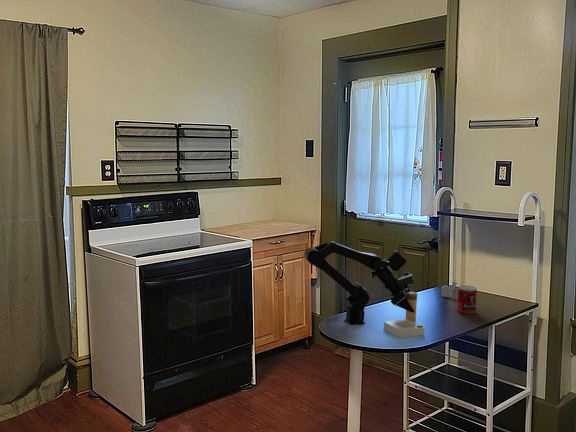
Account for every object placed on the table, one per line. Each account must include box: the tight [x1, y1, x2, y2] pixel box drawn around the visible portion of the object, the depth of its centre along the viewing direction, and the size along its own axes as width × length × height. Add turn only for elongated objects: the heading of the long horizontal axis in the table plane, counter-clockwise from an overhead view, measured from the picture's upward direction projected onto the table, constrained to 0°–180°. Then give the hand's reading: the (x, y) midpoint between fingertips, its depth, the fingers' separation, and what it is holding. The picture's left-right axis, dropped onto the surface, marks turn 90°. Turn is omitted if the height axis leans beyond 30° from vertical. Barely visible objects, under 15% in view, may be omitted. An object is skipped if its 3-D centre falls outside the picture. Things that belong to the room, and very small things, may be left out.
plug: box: [405, 291, 418, 323], centre depth 230 cm, size 4×4×13 cm
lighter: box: [440, 281, 458, 299], centre depth 274 cm, size 7×2×8 cm, turn 51°
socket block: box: [383, 318, 426, 339], centre depth 221 cm, size 11×11×4 cm
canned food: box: [456, 284, 478, 315], centre depth 250 cm, size 8×8×11 cm
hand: (414, 309), depth 230 cm, fingers open, 9 cm apart
